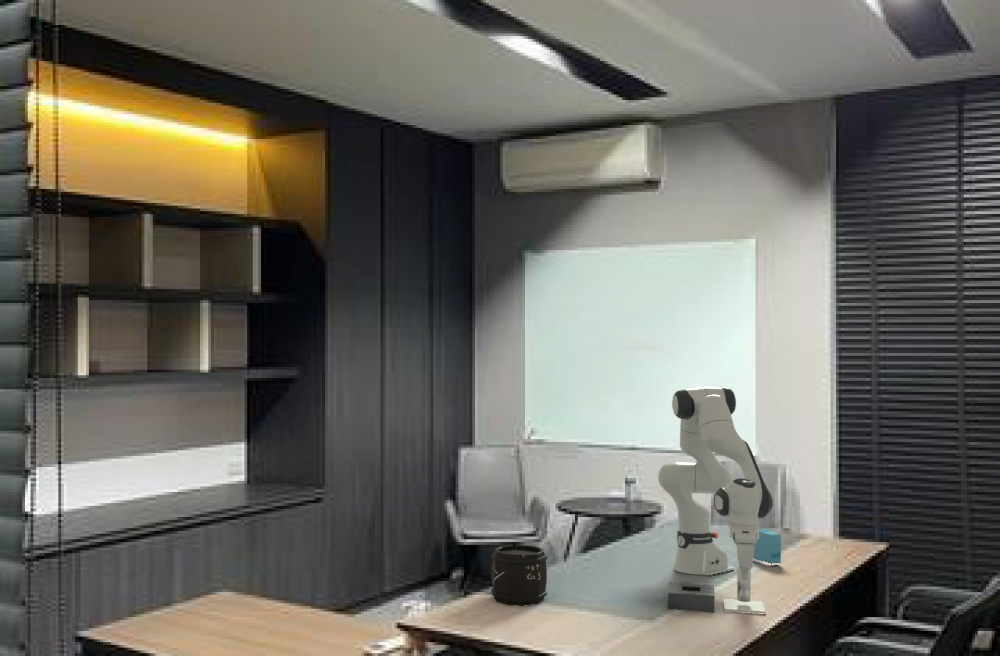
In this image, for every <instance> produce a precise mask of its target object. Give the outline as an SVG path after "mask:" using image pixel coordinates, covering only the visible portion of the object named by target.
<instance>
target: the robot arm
mask: <svg viewBox="0 0 1000 656" xmlns="http://www.w3.org/2000/svg"><path fill="white" fill-rule="evenodd" d="M671 407H672V410H673V413H674V415H675V416H676V418H678V419H680V422H679V423H680V426H679V428H680V430H679V432H680V433H679V447H680V450H681V451H682V452H683V453H684V454H685V455H687V456H689V457H691V458H693V459H695V461H696V462H679V461H678V462H677V461H676V462H671V463H664V464H663V465H662V466H661V467H660V469H659V472H658V476H657V477H658V478H657V479H658V483H659V485H660V487H661V489H663V490H664V491H665V492H666V493H668V495H669V496H670V497H671V499H673V502H674V504H675V507H676V510H677V522H678V523H677V524H678V525H677V526H678V527H677V529H678V530H677V532H676V542H677V548H676V550H677V551H676V554H675V555H676V556H675V562H674V566H673V568H672V569H673V570H674V571H675V572H678V573H681V574H682V573H683V574H688V575H702V576H709V575H711V576H714V575H713V574H716V575H718V574H717V573H720V574H722V573H721V572H724V573H726V572H725V571H728V570H732V569H734V570H735V567H734V566H733V565H731V564H729V562H728V555H727V554H726V551H725V550H724V549H722V548H721V547H719V545H717V543H715V542H714V539H718V538H719V534H718V532H711V531H710V511H709V509H708V508H707V507H706V506H705V505H704V504H702V503H701V502H699V501H696V500H695V499H694V498H693V496H692V495H693V494H706V495H707V494H711V495H713V494H714V495H713V507H714V510H715V511H716V512H717V513H718V514H719V515H720V516H722V517H726V518H730V519H729V520H730V521H729V538H730V539H732V540H733V543H734V544H735V545H736V556H737V561H738V567H740V568H741V578H742V579H743V580H747V579H748V569H752V567H753V564H754V561H753V556H754V546H755V544H756V542H757V540H758V539H759V529H760V521H759V519H763V518H765V517H766V516H768V514H769V513H770V512H771V511H772V509H773V507H774V501H773V500H774V499H773V497H772V494H771V492H770V490H769V489H768V487H767V485H766V484H765V481H764V478H763V476H762V473H761V471H760V469H759V466H758V464H757V462H756V458H755V455H754V454H753V451H752V449H751V447H750V445H749V444H748V442H747V441H746V440H744V439H743V438H741V436H740V435H739V433H738V432H737V430H736V428H735V425H734V421H733V417H732V415H733V414H734V412H735V411H736V407H737V400H736V395H735V392H734V391H733V390H732V389H731V388H729V387H726V386H719V387H714V386H703V387H695V388H689V389H686V388H683V389H680V390H676V392H675V393H674V394H673V396H672V400H671ZM715 454H716V455H720V456H723V457H725V458H728V459H731V460H732V461H734V462H735V463H737V464H738V465H739V466H740V469H741V471H742V474H743V476H744V478H735V479H733V480H732V481H731V473H730V471H729V470H728V469H727V467H726V466H725V465H724V464H723V463H721V462H720V461H719V460H718V459H717V458H716V456H715Z"/></svg>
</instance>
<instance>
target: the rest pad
mask: <svg viewBox="0 0 1000 656" xmlns="http://www.w3.org/2000/svg"><path fill="white" fill-rule="evenodd" d="M723 601H724V602H723V608H724V609H723V610H725V611H724V613H730V612H747V613H748V612H750V613H753V612H754V613H765V614H766V608H765V605H764V602H763V601H761V600H750V601H749V602H741V601H738V600H737V599H732V598H730V599H729V598H723Z"/></svg>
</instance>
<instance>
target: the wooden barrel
mask: <svg viewBox="0 0 1000 656" xmlns="http://www.w3.org/2000/svg"><path fill="white" fill-rule="evenodd" d="M491 558H492V561H491V562H492V563H491V570H490V573H491V589H490V592H491V594H492V596H493V599H494V600H495V602H496V603H498V604H502V605H506V606H513V605H519V606H518V607H525V606H524V605H528V606H532V605H531V604H536V605H538V603H539V602H540V603H542V602H543V601H544V600H545V597H547V594H548V592H547V591H546V589H547V581H548V580H547V578H548V575H547V574H548V573H547V572H548V570H547V560H548V556H547V554H546V553H545V551H544V550H543V549H542V547H540V546H535V545H528V544H516V545H515V546H514V544H509V545H503V546H499V547H495V548H494V551H493V552H492V553H491ZM541 601H542V602H541ZM540 603H539V604H540Z"/></svg>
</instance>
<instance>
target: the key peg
mask: <svg viewBox="0 0 1000 656" xmlns="http://www.w3.org/2000/svg"><path fill="white" fill-rule="evenodd" d="M736 568H737V570H736V571H737V572H736V573H737V574H736V575H737V576H736V578H737V579H736V580H737V581H736V588H737V590H736V594H737V595H736V597H737V599H736V600H738V601H741V602H749V601H751V594H752V593H751V590H752V589H751V586H752V585H751V582H752V581H751V577H752V570H751V569H752V568H751V569H748V579H747V580H743V579H742V578H741V568H740V567H739V566H737V567H736Z"/></svg>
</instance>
